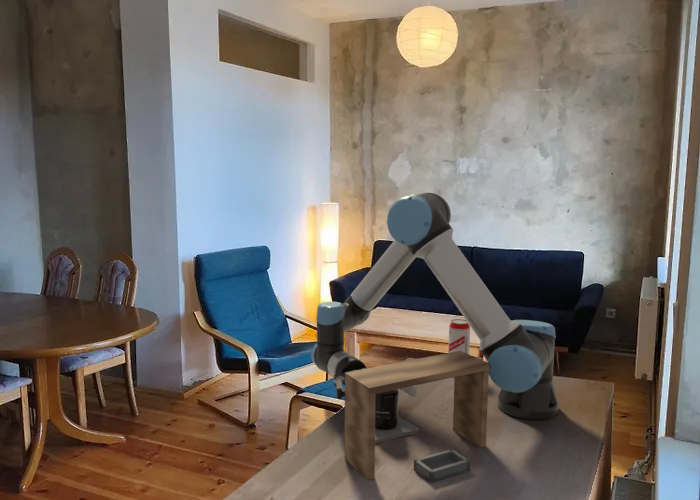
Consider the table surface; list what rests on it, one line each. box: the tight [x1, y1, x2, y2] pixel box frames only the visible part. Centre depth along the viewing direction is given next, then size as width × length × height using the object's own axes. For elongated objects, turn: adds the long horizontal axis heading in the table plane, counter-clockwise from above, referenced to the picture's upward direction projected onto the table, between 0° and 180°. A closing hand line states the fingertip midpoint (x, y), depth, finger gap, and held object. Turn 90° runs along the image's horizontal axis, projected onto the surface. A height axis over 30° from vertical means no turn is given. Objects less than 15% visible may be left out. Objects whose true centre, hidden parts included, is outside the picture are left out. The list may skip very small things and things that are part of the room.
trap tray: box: [413, 448, 471, 484], centre depth 130 cm, size 6×10×2 cm, turn 119°
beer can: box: [447, 318, 471, 355], centre depth 187 cm, size 6×6×16 cm
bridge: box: [344, 351, 490, 480], centre depth 137 cm, size 10×31×20 cm, turn 119°
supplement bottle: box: [375, 389, 399, 430], centre depth 150 cm, size 7×7×12 cm
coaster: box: [375, 415, 419, 444], centre depth 150 cm, size 12×12×1 cm
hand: (391, 397), depth 146 cm, fingers open, 13 cm apart
